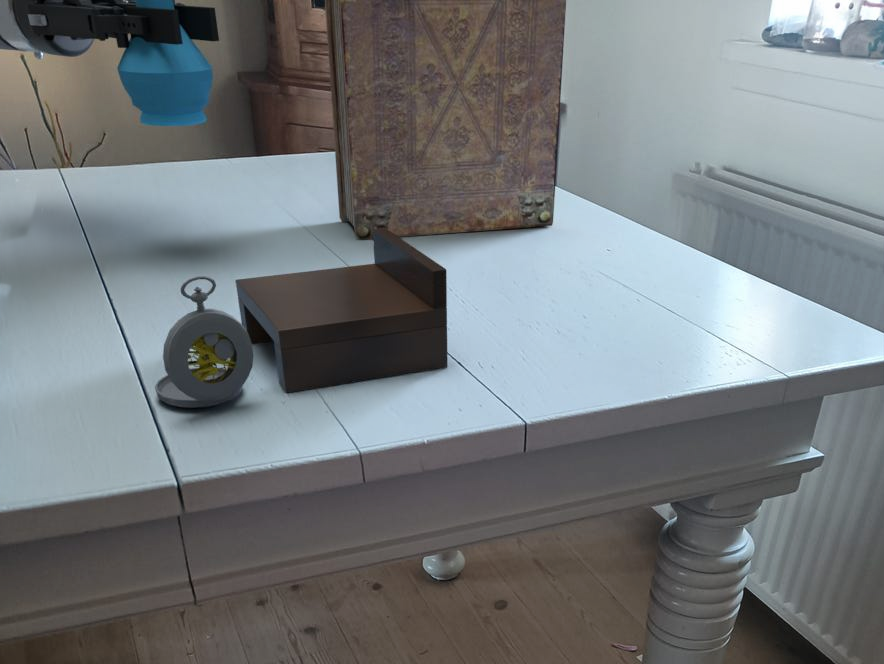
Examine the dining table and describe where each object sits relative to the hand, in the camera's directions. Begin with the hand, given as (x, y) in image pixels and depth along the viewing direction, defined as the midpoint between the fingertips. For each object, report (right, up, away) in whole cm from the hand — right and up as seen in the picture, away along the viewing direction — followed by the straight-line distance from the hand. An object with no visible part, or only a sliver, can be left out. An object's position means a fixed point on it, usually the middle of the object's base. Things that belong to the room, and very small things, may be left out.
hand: (195, 25), depth 88 cm
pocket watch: (+6, -40, -16) cm, 44 cm away
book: (+23, -7, +28) cm, 37 cm away
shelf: (+15, -34, -8) cm, 37 cm away
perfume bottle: (-5, -5, +8) cm, 10 cm away
